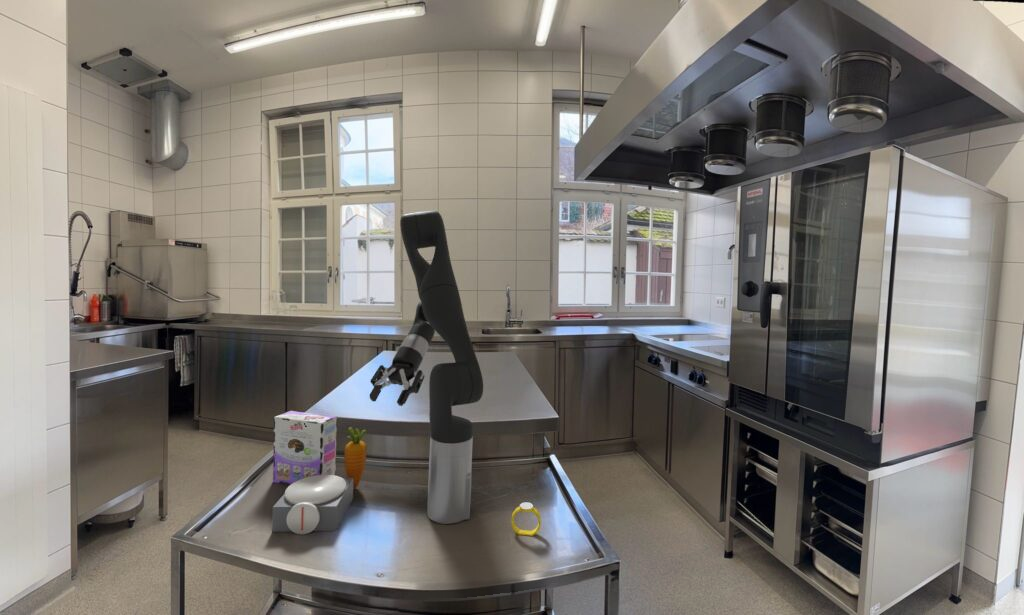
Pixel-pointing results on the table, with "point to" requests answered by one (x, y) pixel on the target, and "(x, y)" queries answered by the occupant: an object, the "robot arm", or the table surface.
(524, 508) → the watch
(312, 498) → the scale pan
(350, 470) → the carrot
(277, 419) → the candy box
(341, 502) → the scale base
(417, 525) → the table surface
